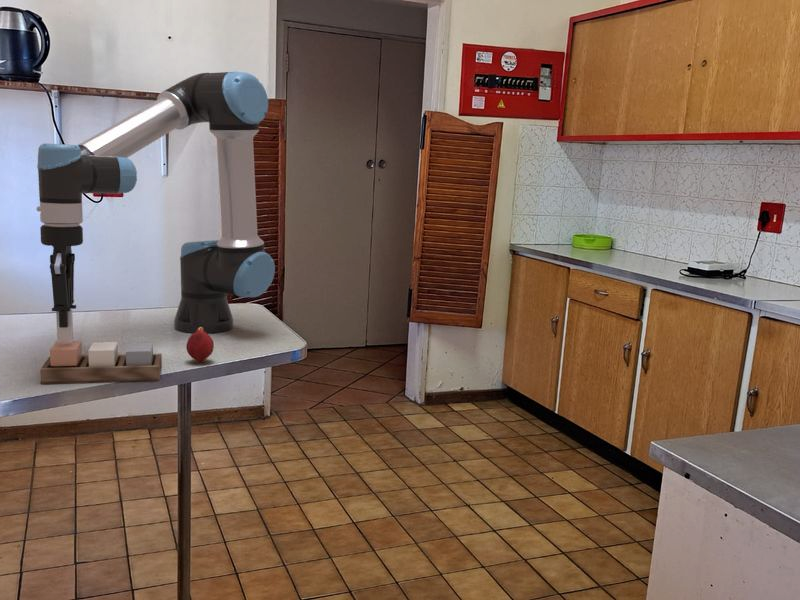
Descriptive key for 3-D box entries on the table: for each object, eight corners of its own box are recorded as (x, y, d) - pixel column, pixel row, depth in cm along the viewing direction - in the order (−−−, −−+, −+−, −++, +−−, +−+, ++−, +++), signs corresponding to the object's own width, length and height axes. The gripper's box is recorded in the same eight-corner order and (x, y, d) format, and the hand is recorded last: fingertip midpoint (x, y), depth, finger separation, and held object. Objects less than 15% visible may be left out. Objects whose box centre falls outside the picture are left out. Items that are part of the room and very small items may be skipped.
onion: (206, 367, 161) (206, 331, 159) (181, 364, 162) (181, 329, 160) (217, 360, 166) (217, 325, 165) (193, 357, 167) (193, 323, 166)
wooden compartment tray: (161, 367, 159) (161, 353, 159) (159, 380, 150) (159, 366, 149) (50, 369, 153) (50, 355, 153) (40, 384, 144) (40, 369, 143)
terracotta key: (82, 356, 153) (81, 340, 152) (76, 365, 147) (76, 349, 146) (56, 356, 152) (56, 341, 151) (50, 366, 145) (49, 350, 145)
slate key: (153, 357, 157) (153, 342, 156) (151, 366, 150) (151, 351, 150) (129, 358, 156) (128, 343, 155) (126, 367, 149) (125, 351, 148)
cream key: (118, 357, 155) (117, 341, 154) (114, 366, 148) (114, 350, 148) (93, 357, 154) (93, 342, 153) (88, 366, 147) (88, 350, 147)
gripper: (47, 220, 149) (51, 334, 154) (33, 227, 137) (38, 350, 141) (87, 221, 151) (89, 334, 155) (77, 228, 139) (80, 349, 143)
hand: (65, 341), depth 148 cm, fingers closed
